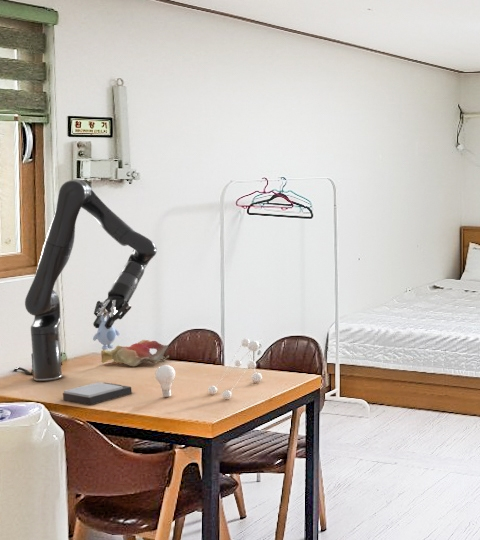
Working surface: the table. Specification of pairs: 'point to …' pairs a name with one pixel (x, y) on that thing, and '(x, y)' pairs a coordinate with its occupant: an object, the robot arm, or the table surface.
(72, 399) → the scale
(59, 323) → the robot arm
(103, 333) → the toy figure
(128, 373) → the table surface
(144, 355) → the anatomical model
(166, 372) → the lightbulb
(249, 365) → the molecule model
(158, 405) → the table surface
